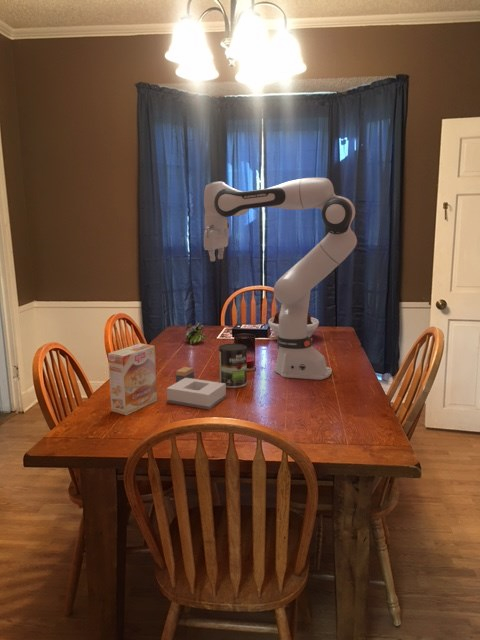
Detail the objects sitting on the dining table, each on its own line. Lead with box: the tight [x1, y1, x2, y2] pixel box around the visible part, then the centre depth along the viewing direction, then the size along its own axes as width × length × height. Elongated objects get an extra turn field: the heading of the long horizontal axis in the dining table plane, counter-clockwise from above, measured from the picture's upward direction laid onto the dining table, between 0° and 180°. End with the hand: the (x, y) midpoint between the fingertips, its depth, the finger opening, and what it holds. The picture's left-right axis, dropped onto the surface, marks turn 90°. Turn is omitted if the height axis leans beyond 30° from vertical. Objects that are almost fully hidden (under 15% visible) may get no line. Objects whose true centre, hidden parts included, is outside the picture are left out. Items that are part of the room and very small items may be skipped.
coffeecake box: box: [107, 342, 158, 416], centre depth 165 cm, size 15×7×20 cm, turn 148°
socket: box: [166, 378, 227, 410], centre depth 172 cm, size 16×12×5 cm
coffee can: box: [218, 343, 248, 389], centre depth 187 cm, size 10×10×14 cm
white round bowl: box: [267, 311, 320, 339], centre depth 251 cm, size 25×25×15 cm
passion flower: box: [184, 322, 208, 346], centre depth 248 cm, size 11×11×12 cm
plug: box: [175, 366, 195, 383], centre depth 184 cm, size 4×6×7 cm, turn 154°
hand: (216, 260), depth 202 cm, fingers open, 8 cm apart
